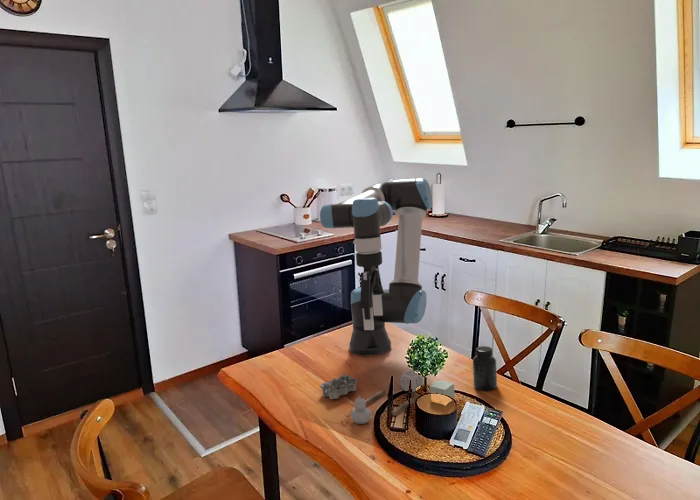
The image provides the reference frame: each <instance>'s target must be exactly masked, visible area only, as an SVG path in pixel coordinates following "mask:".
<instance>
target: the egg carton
mask: <svg viewBox="0 0 700 500" xmlns="http://www.w3.org/2000/svg"><path fill="white" fill-rule="evenodd" d="M358 381H359V379H356V377H352V376H351V375H348V374H346V373H344V374H343V375H341V376H340V377H337V378H334V379H331V380H329V381H328V382H323V383H321V384H320V386H319V389H322V390H321V391H322V396H323V397H324V398H326V397H329V400H334V399H340V396H343V395H344V396H345V395H346V396H347V394H348V393H349V392H354V391H357V388H358Z"/></svg>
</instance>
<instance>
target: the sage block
mask: <svg viewBox="0 0 700 500" xmlns="http://www.w3.org/2000/svg"><path fill="white" fill-rule="evenodd" d="M430 393H438V394H443V395H448V396H450V397H452V398H453V399H454V400H453V401H455V399H456V395H455V383H454V382H450V381H446V380H442V379H441V380H440V379H438V380H437V381H435V382H433V383H432V384H431V385H429V394H430Z"/></svg>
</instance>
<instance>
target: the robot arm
mask: <svg viewBox="0 0 700 500" xmlns="http://www.w3.org/2000/svg"><path fill="white" fill-rule="evenodd" d="M432 208H433V195H432V189H431V186H430V184H429V182H428V180H427V179H426V178H416V177H413V178H408V179H407V178H406V179H393V180H392V179H390V180H384V181H380V182H378V183H375V184H372V185H371V186H367V187H366V188H364V189H363V190H362V192H361V193H359V194H357V195H355V196H352V197H350V198H348V199H345V200H344V201H342V202H339V203H335V204H334V203H333V204H332V203H330V204H323V206H321V209H320V210H319V211H320V212H319V219H320V220H319V221H320V224H321V226H322V227H323V228H325V229H349V228H353V234H354V240H353V241H352V244H353V245H354V246H355V252H356V253H355V261H356V262H355V263H356V266H357V267H359V268H363V271H362V272H361V273H360V286H359V287H357V288H355V289H353V290H351V292H350V308H351V318H352V320H351V321H352V332H351V337H350V342H349V351H350V352H351V353H352V354H354V355H357V356H363V357H365V356H367V357H369V356H378V355H383V354H386V353H387V352H389V351H390V350H391V349H392V342H391V339H390V337H389V334H388V332H387V329H386V325H385V323H388V324H389V323H392V324H406V325H408V324H419V322H421V321H422V319H423V318H424V316H425V313H426V308H427V300H428V299H427V293H426V291H425V290H423V285H421V283H420V282H419V273H420V272H419V268H420V257H421V255H420V254H421V240H422V225H423V219H424V218H425V217H426V216H427V214H428V213H427V212H428V210H431V209H432ZM394 214H395V215H396V216H397V217H398V222H397V223H398V224H397V225H398V226H397V237H396V249H395V250H396V251H395V263H394V275H393V280H391V282H389V283H388V289H383V288H384V286H383V285H382V281H381V280H382V279H381V274H380V267H379V266H381V265H382V263H383V253H382V251H381V250H382V238H381V237H382V236H381V227H384V226H386V225H387V224H388V223H389V222H390V221H392V219H393V215H394Z"/></svg>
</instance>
